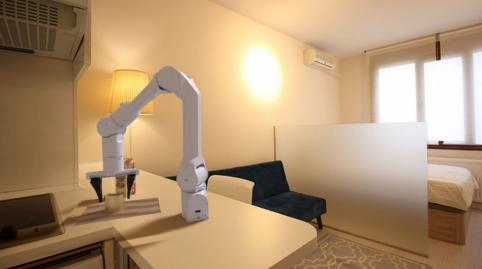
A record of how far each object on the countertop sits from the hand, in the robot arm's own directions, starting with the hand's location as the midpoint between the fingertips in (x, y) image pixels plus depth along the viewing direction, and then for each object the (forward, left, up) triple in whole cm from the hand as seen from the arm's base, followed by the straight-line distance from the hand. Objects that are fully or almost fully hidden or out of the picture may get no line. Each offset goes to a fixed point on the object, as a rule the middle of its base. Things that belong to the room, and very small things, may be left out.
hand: (115, 199), depth 75 cm
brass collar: (0, 0, -3) cm, 3 cm away
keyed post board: (0, -2, -5) cm, 5 cm away
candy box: (+18, -2, -5) cm, 19 cm away
